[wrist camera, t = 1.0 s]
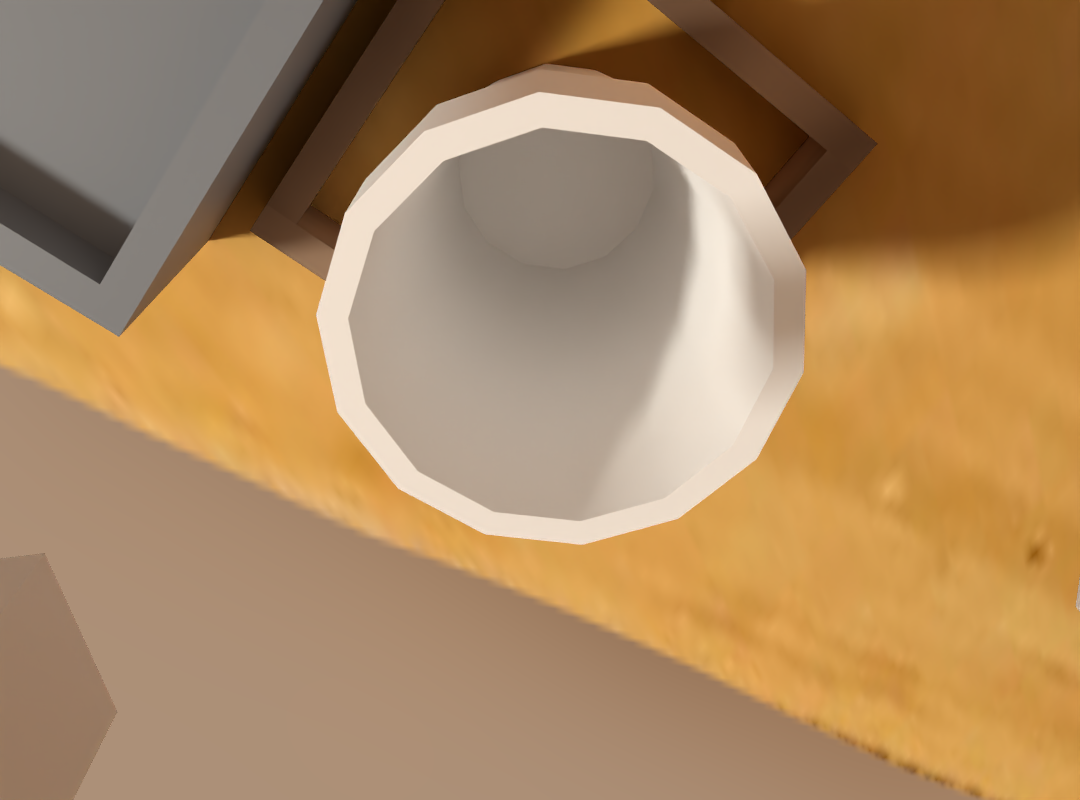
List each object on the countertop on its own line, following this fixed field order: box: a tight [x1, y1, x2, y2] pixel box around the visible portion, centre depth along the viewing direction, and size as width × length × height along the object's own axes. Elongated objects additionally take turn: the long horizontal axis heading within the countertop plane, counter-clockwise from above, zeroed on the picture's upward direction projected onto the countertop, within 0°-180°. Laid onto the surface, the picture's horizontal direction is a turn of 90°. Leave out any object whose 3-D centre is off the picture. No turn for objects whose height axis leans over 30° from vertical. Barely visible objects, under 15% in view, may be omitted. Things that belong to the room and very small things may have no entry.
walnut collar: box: [250, 0, 877, 281], centre depth 30 cm, size 13×13×2 cm
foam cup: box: [316, 64, 806, 545], centre depth 25 cm, size 10×9×13 cm
